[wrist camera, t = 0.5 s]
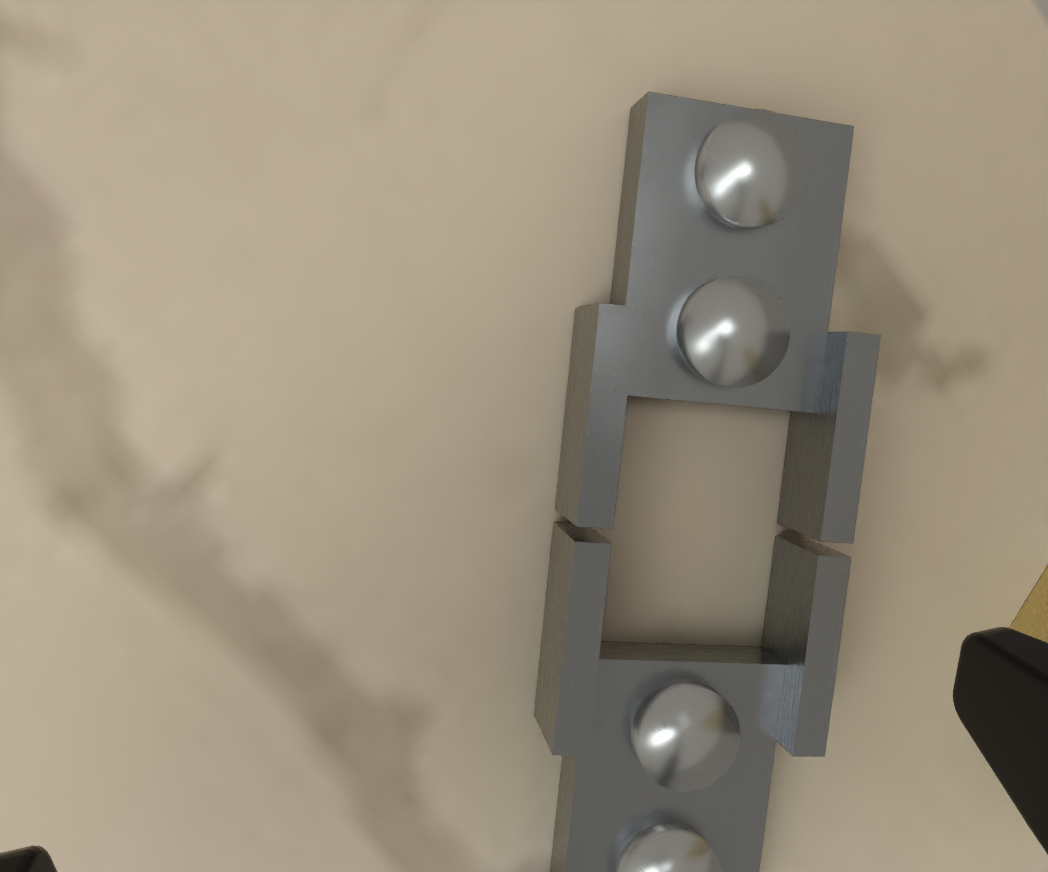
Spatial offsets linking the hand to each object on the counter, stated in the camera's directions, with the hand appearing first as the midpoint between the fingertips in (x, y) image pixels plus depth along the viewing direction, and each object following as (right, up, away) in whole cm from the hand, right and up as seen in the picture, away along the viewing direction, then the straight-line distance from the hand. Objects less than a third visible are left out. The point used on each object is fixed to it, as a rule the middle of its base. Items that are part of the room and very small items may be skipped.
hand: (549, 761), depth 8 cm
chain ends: (+5, 0, +17) cm, 18 cm away
